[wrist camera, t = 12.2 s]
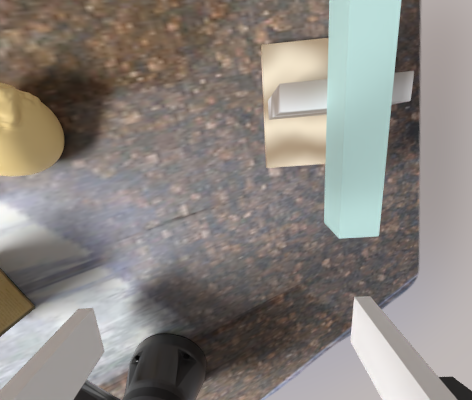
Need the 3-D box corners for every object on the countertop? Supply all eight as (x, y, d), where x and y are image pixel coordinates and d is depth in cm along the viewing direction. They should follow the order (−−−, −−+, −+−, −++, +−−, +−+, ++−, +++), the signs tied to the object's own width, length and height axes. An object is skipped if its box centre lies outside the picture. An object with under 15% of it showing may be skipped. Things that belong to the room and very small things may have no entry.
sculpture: (67, 88, 33) (-14, 67, 22) (82, 170, 36) (17, 185, 26) (-9, 89, 33) (-123, 68, 23) (13, 170, 36) (-78, 184, 26)
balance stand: (351, 160, 34) (406, 172, 23) (266, 166, 35) (277, 182, 23) (359, 38, 30) (431, -23, 18) (261, 49, 31) (271, -4, 19)
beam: (357, 220, 24) (378, 236, 20) (324, 222, 24) (339, 238, 20) (378, -98, 17) (417, -165, 13) (331, -91, 17) (356, -156, 14)
